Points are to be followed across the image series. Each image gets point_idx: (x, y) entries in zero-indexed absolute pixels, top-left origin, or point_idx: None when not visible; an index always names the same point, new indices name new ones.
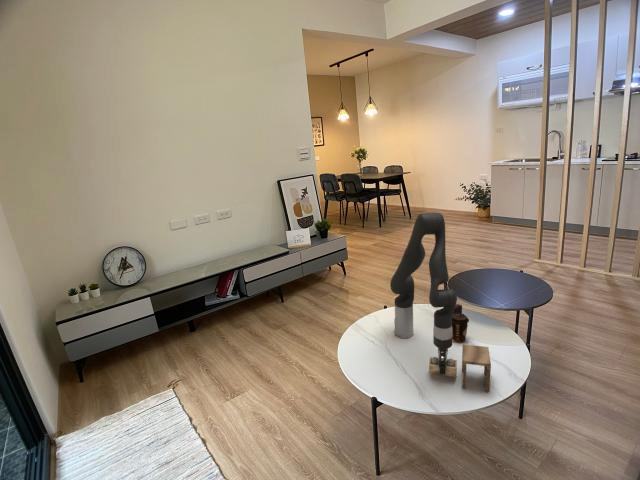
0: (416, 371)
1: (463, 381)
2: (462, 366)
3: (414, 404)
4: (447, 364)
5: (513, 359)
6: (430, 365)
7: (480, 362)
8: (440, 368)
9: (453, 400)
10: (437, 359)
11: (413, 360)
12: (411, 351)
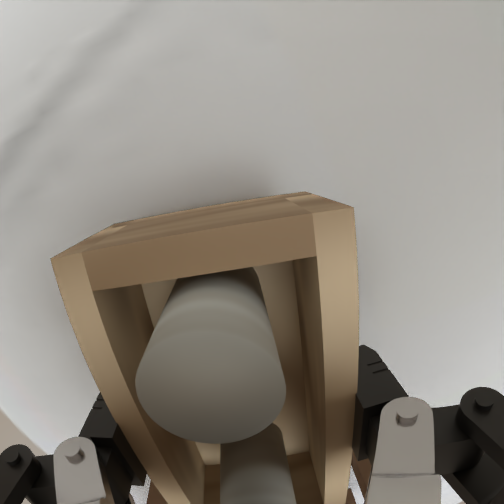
0: (215, 58)
1: (151, 493)
2: (355, 459)
3: None
4: (309, 421)
5: (447, 498)
6: (60, 285)
7: None
8: (104, 418)
9: (33, 402)
10: (194, 439)
11: (382, 14)
12: (475, 12)
